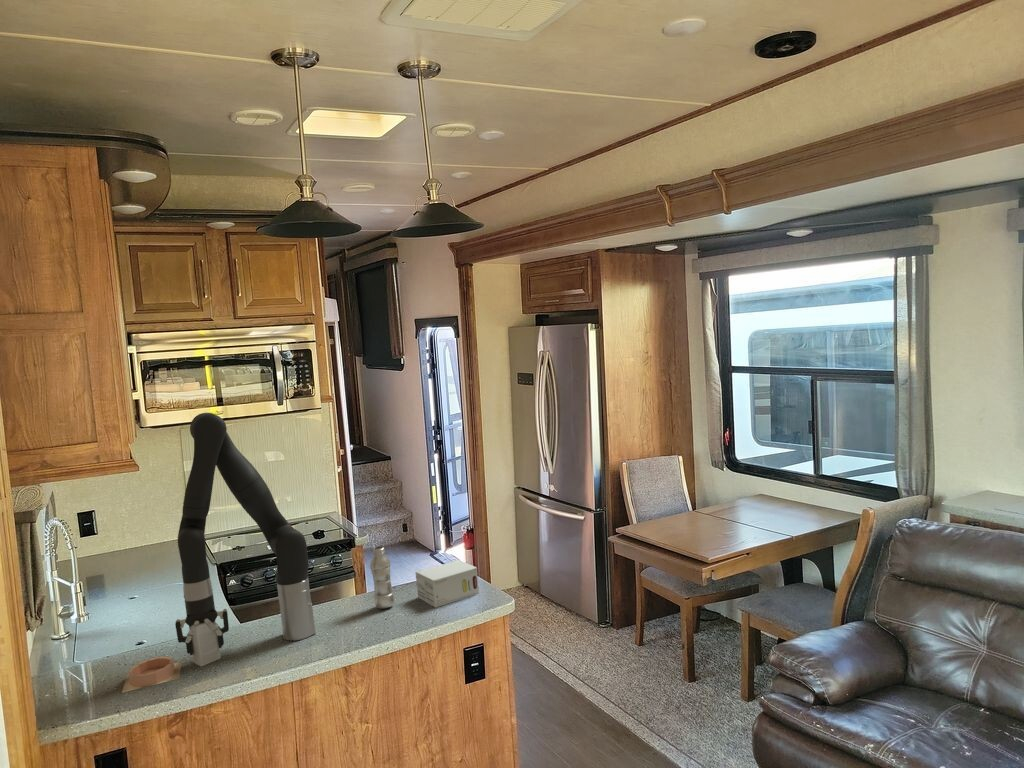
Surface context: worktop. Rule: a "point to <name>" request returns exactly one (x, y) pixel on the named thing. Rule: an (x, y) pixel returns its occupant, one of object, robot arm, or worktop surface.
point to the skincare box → (204, 644)
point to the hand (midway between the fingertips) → (206, 650)
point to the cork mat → (173, 677)
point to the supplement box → (447, 583)
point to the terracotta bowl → (151, 671)
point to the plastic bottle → (381, 579)
